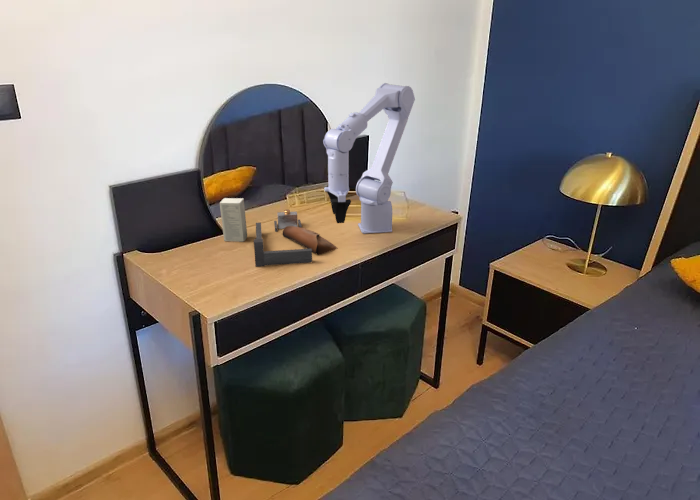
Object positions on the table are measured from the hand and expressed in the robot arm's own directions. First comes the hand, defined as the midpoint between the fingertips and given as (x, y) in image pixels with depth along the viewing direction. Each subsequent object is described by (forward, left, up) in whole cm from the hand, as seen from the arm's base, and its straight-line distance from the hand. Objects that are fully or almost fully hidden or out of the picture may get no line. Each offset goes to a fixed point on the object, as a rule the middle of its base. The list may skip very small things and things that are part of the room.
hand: (338, 218), depth 165 cm
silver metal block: (+14, -14, -7) cm, 21 cm away
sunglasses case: (+8, 0, -8) cm, 12 cm away
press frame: (+17, -1, -7) cm, 18 cm away
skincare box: (+30, -7, -8) cm, 32 cm away
